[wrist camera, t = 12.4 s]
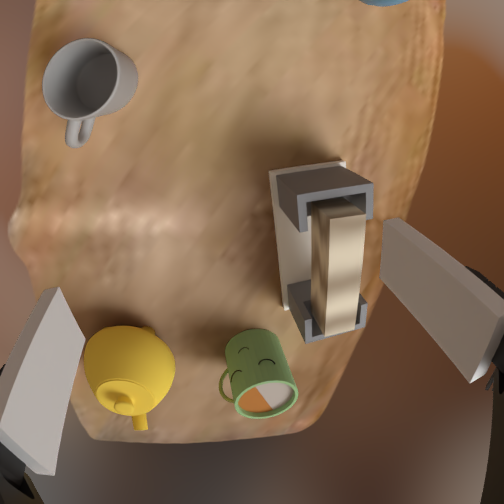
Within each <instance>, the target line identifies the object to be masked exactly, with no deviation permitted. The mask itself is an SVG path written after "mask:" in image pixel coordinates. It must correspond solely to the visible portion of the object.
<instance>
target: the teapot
mask: <svg viewBox="0 0 504 504" xmlns="http://www.w3.org/2000/svg"><path fill="white" fill-rule="evenodd" d="M84 369H85V374H86V378H87V380H88V383H89V385H90V387H91V389H92V391H93V393H94V395H95V397H96V398H97V399H98V401H99V402H100V403H101V404H102V405H103V406H104V407H106V408H107V409H109V410H110V411H113V412H115V413H118V414H122V415H129V416H132V421H133V426H134V430H147V429H148V427H147V419H146V413H147V412H149V411H150V410H152V409H153V408H154V407H155V406H156V405H157V404H158V403H159V402H160V401H161V400H162V399H163V398H164V397H165V395H166V394H167V392H168V391H169V389H170V387H171V384H172V381H173V379H174V374H175V360H174V357H173V354H172V352H171V350H170V349H169V347H168V346H167V345H166V344H165V343H164V342H163V341H162V340H161V339H160V338H158V337H157V336H156V335H155V331H154V329H153V328H151V327H148V326H144V327H142V328H138V327H133V326H113V327H104V328H103V329H102V330H100V331H98V332H97V333H95V334H94V335H93V336H92V337H91V338H90V339H89V341H88V342H87V344H86V347H85V352H84Z"/></svg>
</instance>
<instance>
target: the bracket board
mask: <svg viewBox="0 0 504 504" xmlns="http://www.w3.org/2000/svg"><path fill="white" fill-rule="evenodd" d="M268 173H269V181H270V190H271V198H272V207H273V216H274V225H275V234H276V243H277V253H278V262H279V272H280V282H281V292H282V302H283V308H284V311H285V310H289V309H290V311H291V313H292V315H293V318H294V320H295V322H296V324H297V326H298V328H299V331H300V333H301V335H302V337H303V339H304V341H305V344H306V343H310V342H314V341H318V340H321V339H325V338H329V337H332V336H336V335H339V334H343V333H346V332H343V333H339V334H335V335H331V336H327V337H324V335H323V333H322V331H321V329H320V328H319V326H318V324H317V322H316V320H315V318H314V317H313V315H312V313H311V311H310V310H311V201H319V200H327V199H335V198H345V199H346V200H348V201H349V202H351V203H352V204H353V205H355V206H356V207H357V208H359V209H360V210H361V211H363V212H364V213H365V214H366V220H368V219H373V183H372V182H370V181H369V180H367V179H365V178H363V177H361V176H359V175H358V174H356V173H354V172H352V171H350V170H348V169H346V162H345V161H343V160H340V161H332V162H325V163H317V164H310V165H303V166H296V167H289V168H283V169H276V170H270V171H268ZM367 304H368V303H367V302H366V301H365V300H364V298H363V297H362V296H361V294H360V293H359V299H358V307H357V314H356V322H355V329H354V330H356V329H359V328H363V327H365V323H366V314H367ZM350 331H353V330H350ZM347 332H349V331H347Z"/></svg>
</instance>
